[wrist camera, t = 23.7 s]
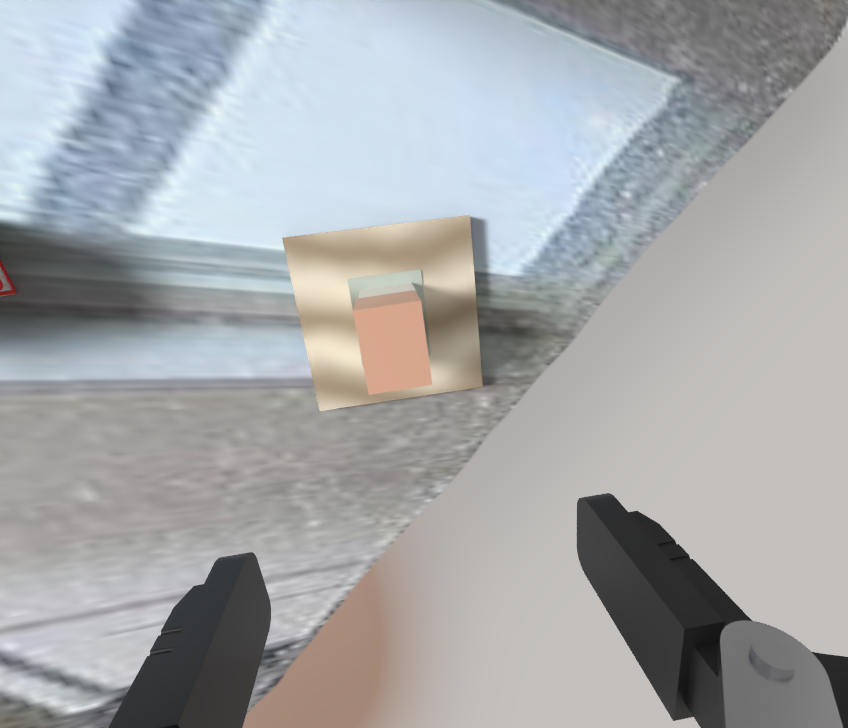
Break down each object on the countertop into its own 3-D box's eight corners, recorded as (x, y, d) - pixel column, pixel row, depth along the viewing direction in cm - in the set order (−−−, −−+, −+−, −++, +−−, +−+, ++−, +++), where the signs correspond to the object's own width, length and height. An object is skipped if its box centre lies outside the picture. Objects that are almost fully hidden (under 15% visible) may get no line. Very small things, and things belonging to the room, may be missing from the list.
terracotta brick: (356, 298, 31) (352, 310, 26) (414, 290, 31) (421, 300, 27) (370, 371, 33) (368, 395, 28) (424, 363, 33) (432, 384, 29)
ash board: (286, 237, 35) (281, 238, 34) (466, 215, 36) (470, 215, 35) (321, 404, 41) (319, 411, 39) (479, 381, 42) (482, 387, 40)
